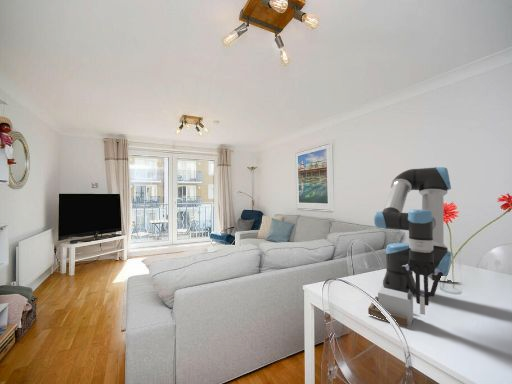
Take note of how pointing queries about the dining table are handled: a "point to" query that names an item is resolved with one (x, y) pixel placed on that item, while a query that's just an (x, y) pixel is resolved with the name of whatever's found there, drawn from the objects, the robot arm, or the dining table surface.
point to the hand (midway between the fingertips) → (422, 312)
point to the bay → (372, 311)
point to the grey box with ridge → (397, 302)
